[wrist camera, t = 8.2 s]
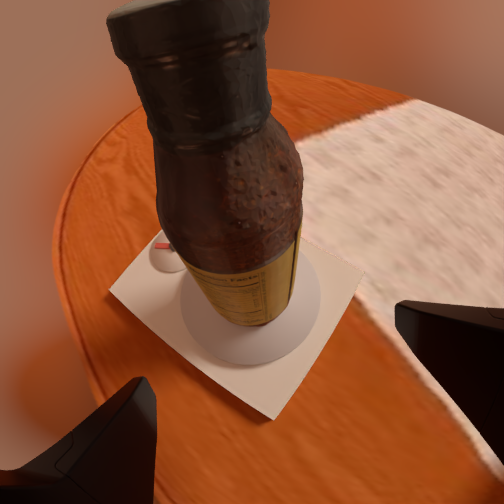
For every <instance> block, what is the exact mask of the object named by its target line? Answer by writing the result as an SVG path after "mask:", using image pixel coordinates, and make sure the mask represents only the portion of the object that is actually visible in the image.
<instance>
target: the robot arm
mask: <svg viewBox="0 0 504 504" xmlns="http://www.w3.org/2000/svg"><path fill="white" fill-rule="evenodd" d="M395 327H396V329H397V331H398V332H399V333H400V335H401V336H402V338H403V339H404V340H405V342H406V343H407V345H408V346H409V348H410V349H411V350H412V352H413V353H414V355H415V356H416V357H417V358H418V360H419V361H420V362H421V363H422V364H423V365H424V367H425V368H426V369H427V370H428V371H429V372H430V373H431V375H432V376H433V377H434V378H435V379H436V380H437V382H438V383H439V384H440V385H441V386H442V387H443V389H444V390H445V391H446V392H447V393H448V395H449V396H450V397H451V398H452V399H453V401H454V402H455V403H456V404H457V405H458V407H459V408H460V409H461V410H462V412H463V413H464V414H465V415H466V416H467V418H468V419H469V420H470V421H471V423H472V424H473V425H474V427H475V428H476V429H477V430H478V432H480V434H481V436H482V437H483V438H484V440H485V441H486V442H487V444H488V445H489V446H490V448H491V449H492V450H493V452H494V453H495V454H496V456H497V457H498V458H499V460H500V461H501V462H502V464H503V465H504V308H488V307H486V308H484V307H474V306H463V305H451V304H440V303H430V302H420V301H410V300H403V301H401V302H399V303H397V304H396V305H395ZM156 444H157V410H156V396H155V393H154V391H153V390H152V388H151V386H150V384H149V382H148V380H147V379H146V378H145V377H144V376H141V377H135V378H133V379H131V380H130V381H129V382H128V383H127V384H126V385H124V386H123V387H122V388H121V389H120V390H119V391H117V392H116V393H115V394H114V395H113V396H112V397H111V398H109V399H108V400H107V401H106V402H105V403H103V404H102V405H101V406H100V407H99V408H98V409H96V410H95V411H94V412H93V413H92V414H91V415H89V416H88V417H87V418H86V419H85V420H84V421H82V422H81V423H80V424H79V425H78V426H77V427H75V428H74V429H73V430H72V431H70V432H69V433H68V434H67V435H66V436H64V437H63V438H62V439H61V440H59V441H58V442H57V443H56V444H54V445H53V446H52V447H50V448H49V449H47V450H46V451H45V452H43V453H42V454H40V455H39V456H37V457H36V458H34V459H33V460H31V461H30V462H28V463H27V464H25V465H24V466H22V467H21V468H18V469H15V470H8V471H6V470H0V504H153V495H154V473H155V457H156Z"/></svg>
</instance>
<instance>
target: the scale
mask: <svg viewBox="0 0 504 504" xmlns="http://www.w3.org/2000/svg"><path fill="white" fill-rule="evenodd" d="M364 274H365V272H364V271H362V270H360V269H359V268H357V267H355V266H353V265H351V264H350V263H348V262H346V261H344V260H342V259H341V258H339V257H337V256H335V255H333V254H331V253H330V252H328V251H326V250H324V249H322V248H320V247H318V246H317V245H315V244H313V243H311V242H309V241H307V240H305V239H303V238H302V237H300V244H299V252H298V261H297V268H296V276H295V283H294V289H293V293H292V296H291V298H290V301H289V304H288V306H287V307H286V309H285V310H284V311H283V312H282V313H281V314H280V315H279V316H278V317H277V318H276V319H275V320H273V321H271V322H270V323H268V324H267V325H264V326H260V327H245V326H240V325H237V324H234V323H231V322H229V321H228V320H226V319H225V318H224V317H222V316H221V315H220V314H219V313H218V312H217V311H216V310H215V309H214V308H213V306H212V305H211V304H210V302H209V301H208V299H207V298H206V296H205V295H204V293H203V292H202V290H201V289H200V287H199V286H198V284H197V283H196V281H195V280H194V278H193V277H192V275H191V274H190V272H189V271H188V269H187V268H186V266H185V265H184V263H183V262H182V260H181V259H180V257H179V256H178V254H177V253H176V251H175V250H174V248H173V247H172V245H171V244H170V242H169V241H168V239H167V237H166V235H165V233H164V231H163V229H162V230H161V231H160V232H159V233H158V234H157V235H156V236H155V237H154V239H153V240H152V241H151V242H150V243H149V244H148V245H147V246H146V247H145V248H144V250H143V251H142V252H141V253H140V254H139V255H138V256H137V257H136V259H135V260H134V261H133V262H132V263H131V264H130V265H129V267H128V268H127V269H126V270H125V271H124V272H123V274H122V275H121V276H120V277H119V278H118V280H117V281H116V282H115V283H114V284H113V285H112V287H111V288H110V289H109V291H110V292H111V293H112V294H113V295H114V296H115V297H116V298H118V299H119V300H120V301H121V302H122V303H123V304H124V305H125V306H126V307H127V308H128V309H129V310H130V311H131V312H132V313H133V314H134V315H135V316H136V317H138V318H139V319H140V320H141V321H142V322H143V323H144V324H145V325H146V326H147V327H149V328H150V329H151V330H152V331H153V332H154V333H155V334H157V335H158V336H159V337H160V338H161V339H162V340H164V341H165V342H166V343H167V344H168V345H169V346H171V347H172V348H173V349H174V350H175V351H177V352H178V353H179V354H180V355H182V356H183V357H184V358H185V359H187V360H188V361H189V362H190V363H192V364H193V365H194V366H196V367H197V368H198V369H199V370H201V371H202V372H203V373H205V374H206V375H207V376H209V377H210V378H211V379H213V380H214V381H216V382H217V383H218V384H220V385H221V386H222V387H224V388H225V389H227V390H228V391H230V392H231V393H232V394H234V395H235V396H237V397H238V398H240V399H241V400H243V401H244V402H246V403H247V404H249V405H250V406H252V407H253V408H255V409H256V410H258V411H259V412H261V413H263V414H264V415H266V416H267V417H269V418H271V419H272V420H275V418H276V417H277V416H278V414H279V413H280V412H281V410H282V409H283V408H284V406H285V405H286V403H287V402H288V401H289V399H290V398H291V396H292V395H293V393H294V392H295V391H296V389H297V388H298V386H299V385H300V383H301V382H302V380H303V379H304V377H305V376H306V374H307V373H308V371H309V370H310V368H311V366H312V365H313V363H314V362H315V360H316V359H317V357H318V355H319V354H320V352H321V351H322V349H323V347H324V346H325V344H326V342H327V341H328V339H329V337H330V336H331V334H332V332H333V331H334V329H335V327H336V326H337V324H338V322H339V320H340V319H341V317H342V315H343V313H344V311H345V310H346V308H347V306H348V304H349V302H350V300H351V299H352V297H353V295H354V293H355V291H356V289H357V287H358V285H359V283H360V281H361V279H362V278H363V276H364Z"/></svg>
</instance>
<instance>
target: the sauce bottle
mask: <svg viewBox="0 0 504 504" xmlns="http://www.w3.org/2000/svg"><path fill="white" fill-rule="evenodd" d="M269 4H270V2H269V0H134V1H132V2H130V3H127V4H125V5H123V6H121V7H119V8H117V9H115V10H114V11H112V12H111V13H110V14H109V15H108V17H107V22H106V24H107V27H108V30H109V33H110V37H111V42H112V45H113V49H114V52H115V55H116V56H117V57H118V58H119V59H120V60H122V62H123V63H124V64H126V65H127V66H128V68H129V70H130V72H131V75H132V78H133V81H134V84H135V86H136V89H137V93H138V95H139V96H140V99H141V102H142V105H143V108H144V110H145V112H146V115H147V126H148V129H149V131H150V133H151V135H152V137H153V147H154V161H155V173H156V186H157V196H156V208H157V214H158V218H159V221H160V225H161V227H162V229H163V231H164V233H165V235H166V237H167V239H168V241H169V242H170V244H171V245H172V247H173V248H174V250H175V251H176V253H177V254H178V256H179V257H180V259H181V260H182V262H183V263H184V265H185V266H186V268H187V269H188V271H189V272H190V274H191V275H192V277H193V278H194V280H195V281H196V283H197V284H198V286H199V287H200V289H201V290H202V292H203V293H204V295H205V296H206V298H207V299H208V301H209V302H210V304H211V305H212V306H213V308H214V309H215V310H216V311H217V312H218V313H219V314H220V315H221V316H222V317H224V318H225V319H226V320H228V321H229V322H231V323H234V324H237V325H240V326H245V327H260V326H264V325H267V324H268V323H270V322H271V321H273V320H275V319H276V318H277V317H278V316H279V315H280V314H281V313H282V312H283V311H284V310H285V309H286V307H287V306H288V304H289V301H290V298H291V296H292V293H293V289H294V283H295V276H296V268H297V261H298V252H299V244H300V236H301V227H302V217H303V207H302V200H301V199H302V190H303V180H304V178H303V167H302V164H301V159H300V156H299V153H298V152H297V150H296V148H295V145H294V143H293V142H292V140H291V139H290V137H289V135H288V132H287V130H286V129H285V128H284V126H282V125H281V124H280V123H279V122H278V121H277V120H276V119H275V118H274V117H273V116H272V114H271V113H270V110H271V105H272V99H271V95H270V94H269V91H268V87H267V84H268V83H267V69H266V49H265V40H264V36H265V32H266V30H267V28H268V24H269V18H270V14H269Z"/></svg>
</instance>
